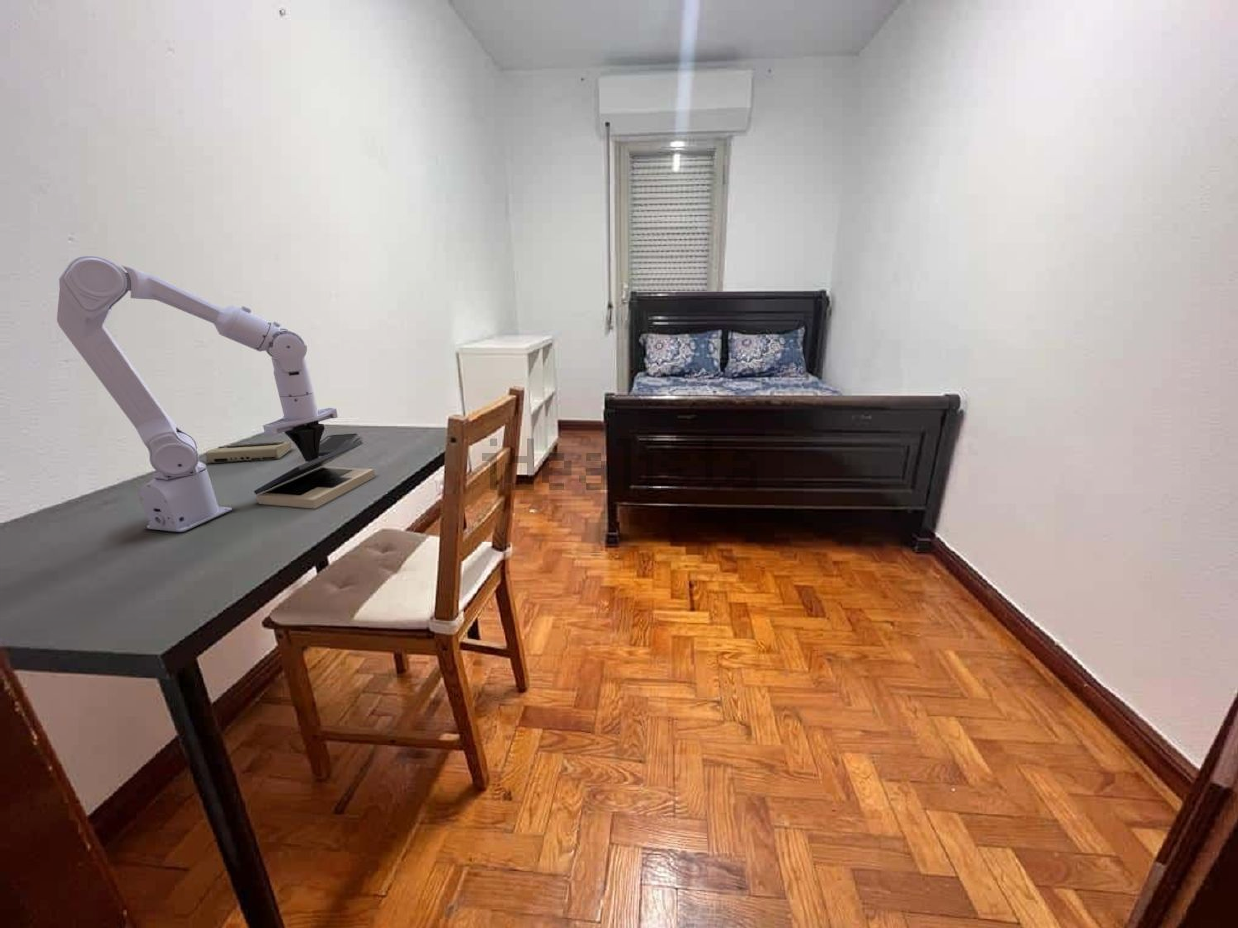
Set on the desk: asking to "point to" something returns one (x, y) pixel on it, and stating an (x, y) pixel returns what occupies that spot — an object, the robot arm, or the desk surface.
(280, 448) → the computer
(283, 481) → the laptop screen
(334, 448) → the phone
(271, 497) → the laptop
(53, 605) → the desk surface
